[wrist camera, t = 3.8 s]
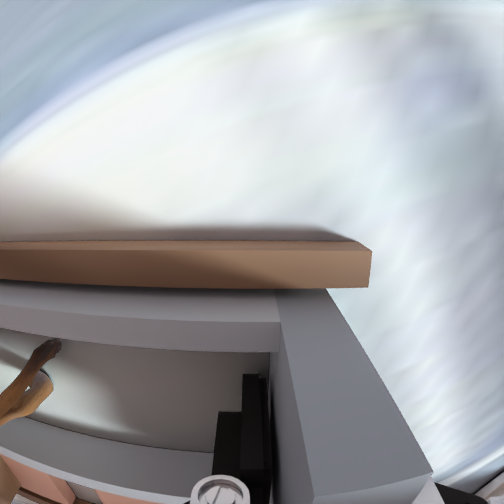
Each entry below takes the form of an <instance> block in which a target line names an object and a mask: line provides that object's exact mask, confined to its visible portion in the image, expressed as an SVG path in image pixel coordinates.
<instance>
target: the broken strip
mask: <svg viewBox="0 0 504 504" xmlns="http://www.w3.org/2000/svg"><path fill="white" fill-rule="evenodd" d="M0 455H1V457H2V458H3V460H4V461H5V463H6V464H7V466H8V467H9V468H10V470H11V471H12V473H13V474H14V475H15V477H16V478H17V479H18V481H19V482H20V483H21V487H23V488H25V489H27V490H30V491H32V492H34V493H36V494H39V495H41V496H44V497H46V498H49V499H51V500H54V501H56V502H59V503H62V504H73V502H74V500H75V498H76V495H75V494H74V492H73V491H72V490H71V488H70V487H69V485H68V484H67V482H66V481H65V480H63V479H60V478H57V477H55V476H52V475H49V474H46V473H44V472H41V471H39V470H36V469H34V468H31V467H29V466H26V465H24V464H22V463H19V462H17V461H15V460H13V459H11V458H8V457H6V456H4V455H2V454H0ZM94 490H95V492H96V493H97V495H98V496H99V498H100V500H101V501H102V503H103V504H163V503H157V502H151V501H145V500H140V499H134V498H130V497H125V496H120V495H116V494H112V493H108V492H104V491H100V490H96V489H94Z"/></svg>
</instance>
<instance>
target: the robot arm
mask: <svg viewBox="0 0 504 504" xmlns="http://www.w3.org/2000/svg"><path fill="white" fill-rule="evenodd" d="M272 469H273V467H272V449H271V436H270V423H269V411H268V398H267V385H266V378H260V377H259V374H243V382H242V412H222V411H219V413H218V420H217V429H216V438H215V447H214V456H213V465H212V474H211V476H209V477H206V478H204V479H202V480H200V481H199V482H198V483H197V484H196V485H195V486H194V487H193V490H192V493H191V499H190V500H189V501H187V502H185V503H184V504H269V502H270V493H271V483H272ZM412 504H504V472H503V473H501V474H500V475H499V476H497V477H496V478H495V479H493V480H492V481H491V482H490V483H488V484H487V485H486V486H484V487H483V488H482V489H481V490H479V491H478V492H477V493H476V494H474V495H473V494H470V493H466V492H463V491H460V490H456V489H453V488H450V487H447V486H444V485H441V484H438V483H435V482H434V481H433V479H432V477H430V478H429V480H428V481H427V483H426V484H425V486H424V487H423V489H422V490H421V492H420V493H419V495H418V496H417V498H416V499H415V500H414V502H413V503H412Z"/></svg>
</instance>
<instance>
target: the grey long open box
mask: <svg viewBox="0 0 504 504" xmlns="http://www.w3.org/2000/svg"><path fill="white" fill-rule="evenodd" d="M0 328H5V329H10V330H15V331H20V332H25V333H31V334H36V335H42V336H48V337H55V338H61V339H68V340H75V341H83V342H91V343H99V344H108V345H117V346H128V347H139V348H151V349H166V350H183V351H206V352H270V372H269V394H268V411H269V423H270V436H271V449H272V467H273V469H272V483H271V493H270V502H269V504H412V503H413V502H414V500H415V499H416V498H417V496H418V495H419V493H420V492H421V490H422V489H423V487H424V486H425V484H426V483H427V481H428V480H429V478H430V477H431V475H432V473H433V470H432V468H431V466H430V464H429V463H428V461H427V459H426V457H425V455H424V453H423V451H422V450H421V448H420V446H419V444H418V442H417V441H416V439H415V437H414V435H413V433H412V432H411V430H410V428H409V426H408V424H407V423H406V421H405V419H404V417H403V416H402V414H401V412H400V410H399V409H398V407H397V405H396V403H395V402H394V400H393V398H392V396H391V395H390V393H389V391H388V390H387V388H386V386H385V384H384V383H383V381H382V379H381V378H380V376H379V374H378V373H377V371H376V369H375V368H374V366H373V364H372V363H371V361H370V359H369V358H368V356H367V354H366V353H365V351H364V349H363V348H362V346H361V344H360V343H359V341H358V339H357V338H356V336H355V335H354V333H353V331H352V330H351V328H350V326H349V325H348V323H347V322H346V320H345V318H344V317H343V315H342V314H341V312H340V310H339V309H338V307H337V306H336V304H335V303H334V301H333V299H332V298H331V296H330V295H329V293H328V291H327V290H326V288H309V289H226V288H171V287H138V286H112V285H91V284H72V283H54V282H39V281H24V280H11V279H0ZM0 454H2V455H4V456H6V457H8V458H11V459H13V460H15V461H17V462H19V463H22V464H24V465H26V466H29V467H31V468H34V469H36V470H39V471H41V472H44V473H46V474H49V475H52V476H55V477H57V478H60V479H63V480H66V481H69V482H72V483H76V484H79V485H82V486H85V487H89V488H92V489H96V490H100V491H104V492H108V493H112V494H116V495H120V496H125V497H130V498H134V499H140V500H145V501H151V502H157V503H163V504H184V503H185V502H187V501H189V500H190V499H191V493H192V490H193V487H194V486H195V485H196V484H197V483H198V482H199V481H200V480H202V479H204V478H206V477H209V476H211V474H212V465H213V456H214V453H204V452H190V451H179V450H170V449H161V448H154V447H146V446H140V445H134V444H128V443H122V442H117V441H112V440H107V439H102V438H97V437H93V436H89V435H84V434H80V433H76V432H72V431H69V430H65V429H61V428H58V427H54V426H51V425H48V424H45V423H41V422H38V421H35V420H32V419H29V418H26V417H18V418H14V419H12V420H10V421H8V422H6V423H5V424H3V425H1V426H0Z"/></svg>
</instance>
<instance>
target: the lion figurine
mask: <svg viewBox="0 0 504 504" xmlns="http://www.w3.org/2000/svg"><path fill="white" fill-rule="evenodd" d="M60 349H61V343H60V342H59V340H57V339H53V340H48V341H46V342H45V343H44V344H42V345H41V346H39V347H38V348H37V349H35V350H34V352H33V353H32V356H31V358H30V360H29V361H28V363H27V364H26V366H25V367H24V369H23V370H22V371H21V373H20V374H19V375H18V377H17V378H16V379H15V380H14V381H13V382H12V383H11V384H10V386H8V387H7V388H6V389H5V390H4V391H3V392H2V393H1V394H0V426H1V425H3V424H5V423H6V422H8V421H10V420H12V419H14V418H18V417H24V416H27V415H29V414H31V413H33V412H34V411H35V410H36V409H37V408H38V406H39V405H40V404H41V403H42V402H43V401H44V400H45V399H46V398H47V397H48V396H49V395H50V394H51V392H52V391H53V384H52V382H51V380H50V378H49V377H48V376H47V375H46V374H45V373H43V372H41V371H39V369H40V368H41V367H42V366H43V365H44V364H45V363H46V362H47V361H48V360H50V359H51V358H54V357H55V355H56V354H57V353H58V352H59V351H60ZM28 386H29V387H30V389H28V390H27V391H25V390H26V389H27V387H28Z"/></svg>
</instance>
